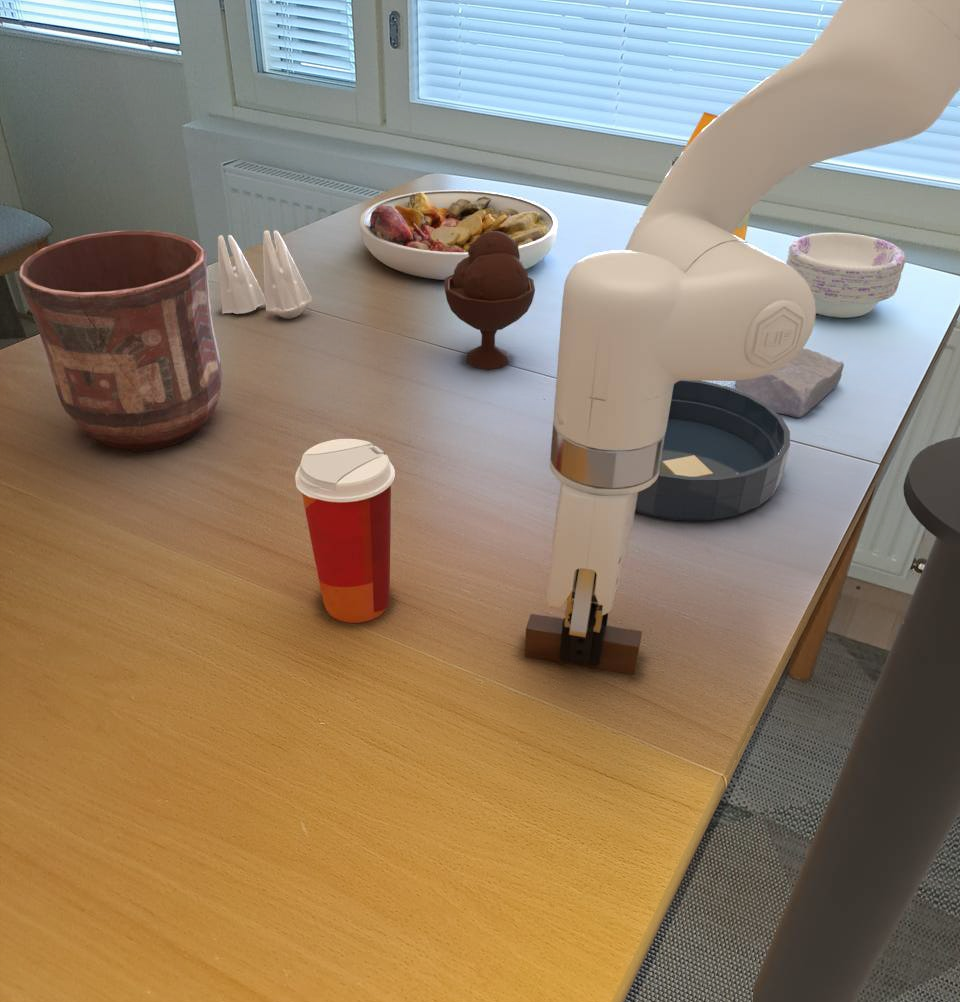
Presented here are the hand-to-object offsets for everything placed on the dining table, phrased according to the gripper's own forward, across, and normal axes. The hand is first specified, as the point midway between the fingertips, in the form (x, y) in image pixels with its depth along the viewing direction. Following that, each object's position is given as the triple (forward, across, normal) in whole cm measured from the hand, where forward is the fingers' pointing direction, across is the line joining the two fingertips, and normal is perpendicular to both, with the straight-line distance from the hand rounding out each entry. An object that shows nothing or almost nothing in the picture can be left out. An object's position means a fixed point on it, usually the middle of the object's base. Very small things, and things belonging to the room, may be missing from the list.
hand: (582, 649), depth 76 cm
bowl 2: (+1, -32, +5) cm, 33 cm away
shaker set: (+1, -58, -52) cm, 78 cm away
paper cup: (+1, -2, -20) cm, 20 cm away
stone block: (+1, -53, +16) cm, 55 cm away
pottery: (+1, -26, -52) cm, 58 cm away
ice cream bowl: (+1, -52, -20) cm, 56 cm away
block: (0, -25, +6) cm, 26 cm away
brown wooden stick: (+1, 0, 0) cm, 1 cm away
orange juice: (+1, -94, +4) cm, 94 cm away
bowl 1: (+1, -88, -33) cm, 94 cm away
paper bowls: (+1, -82, +23) cm, 85 cm away
